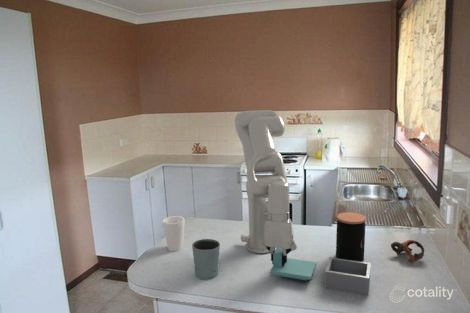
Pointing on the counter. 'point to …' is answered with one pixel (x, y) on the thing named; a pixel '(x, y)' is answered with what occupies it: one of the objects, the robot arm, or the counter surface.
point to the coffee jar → (350, 236)
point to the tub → (348, 276)
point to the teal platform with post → (292, 267)
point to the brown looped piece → (408, 249)
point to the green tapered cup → (206, 258)
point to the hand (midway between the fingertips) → (279, 263)
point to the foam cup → (174, 232)
